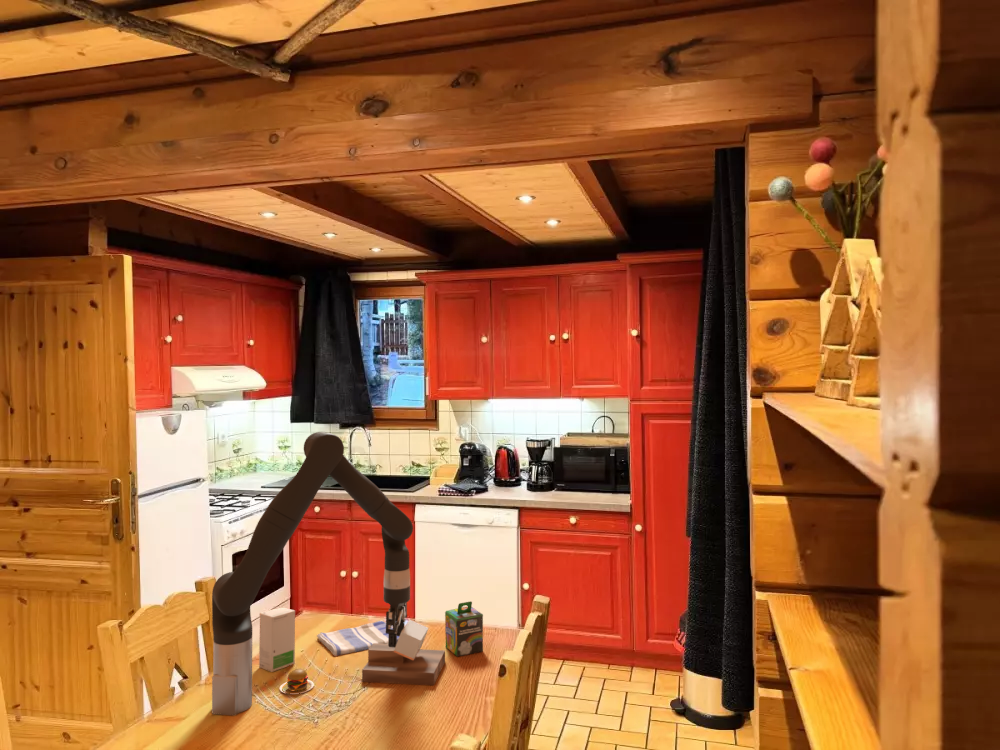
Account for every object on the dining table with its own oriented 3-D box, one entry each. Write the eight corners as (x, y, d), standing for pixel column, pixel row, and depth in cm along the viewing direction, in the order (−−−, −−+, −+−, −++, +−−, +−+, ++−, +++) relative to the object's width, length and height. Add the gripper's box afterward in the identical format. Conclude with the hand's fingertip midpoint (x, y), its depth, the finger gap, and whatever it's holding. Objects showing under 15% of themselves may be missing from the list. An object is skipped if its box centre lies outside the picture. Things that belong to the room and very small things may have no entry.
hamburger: (269, 686, 189) (269, 666, 189) (313, 677, 195) (313, 657, 195) (279, 704, 178) (279, 683, 178) (325, 693, 184) (325, 673, 184)
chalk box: (471, 642, 220) (471, 595, 220) (484, 651, 212) (484, 603, 212) (444, 647, 215) (444, 599, 215) (456, 657, 207) (456, 607, 207)
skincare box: (271, 673, 196) (271, 617, 196) (257, 667, 200) (257, 613, 200) (296, 663, 203) (296, 610, 203) (282, 658, 207) (282, 605, 207)
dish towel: (315, 640, 222) (315, 631, 222) (384, 626, 235) (384, 618, 235) (332, 658, 208) (332, 649, 208) (405, 643, 220) (405, 634, 220)
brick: (413, 660, 192) (420, 640, 192) (393, 651, 192) (401, 631, 192) (421, 646, 202) (428, 627, 202) (402, 638, 202) (409, 619, 202)
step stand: (433, 685, 188) (433, 660, 188) (362, 681, 190) (362, 657, 190) (445, 661, 204) (445, 639, 204) (378, 658, 206) (378, 636, 206)
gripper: (403, 592, 190) (403, 651, 190) (415, 577, 205) (415, 632, 204) (376, 591, 191) (376, 650, 191) (390, 576, 205) (390, 631, 205)
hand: (396, 641), depth 198 cm, fingers open, 8 cm apart
